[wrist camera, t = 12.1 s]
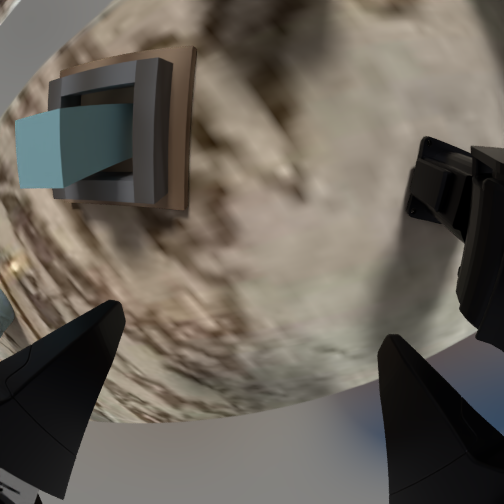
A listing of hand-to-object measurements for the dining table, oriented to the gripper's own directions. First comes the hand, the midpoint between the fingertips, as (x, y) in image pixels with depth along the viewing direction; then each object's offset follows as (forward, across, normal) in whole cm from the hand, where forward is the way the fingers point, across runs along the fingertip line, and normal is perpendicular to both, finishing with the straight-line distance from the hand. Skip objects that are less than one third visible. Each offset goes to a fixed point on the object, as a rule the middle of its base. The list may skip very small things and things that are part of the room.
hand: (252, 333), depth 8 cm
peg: (+12, +12, -5) cm, 18 cm away
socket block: (+13, +12, -5) cm, 18 cm away
